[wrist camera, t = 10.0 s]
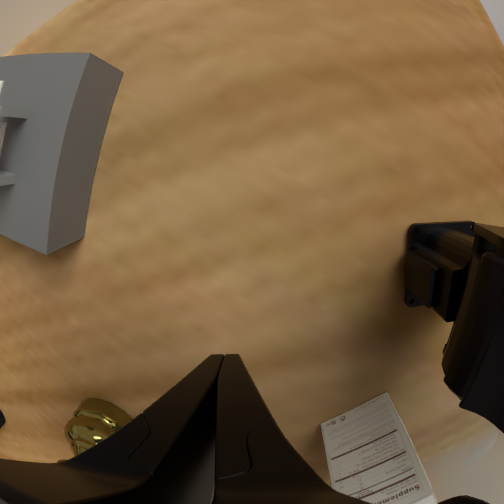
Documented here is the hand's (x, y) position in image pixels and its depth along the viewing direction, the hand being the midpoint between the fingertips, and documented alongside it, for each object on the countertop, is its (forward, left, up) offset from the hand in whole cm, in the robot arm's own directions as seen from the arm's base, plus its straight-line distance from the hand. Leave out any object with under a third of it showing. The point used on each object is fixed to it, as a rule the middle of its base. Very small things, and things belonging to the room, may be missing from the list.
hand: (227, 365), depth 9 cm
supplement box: (-10, +19, -13) cm, 25 cm away
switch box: (+15, -10, -13) cm, 22 cm away
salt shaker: (+17, +18, -13) cm, 28 cm away
